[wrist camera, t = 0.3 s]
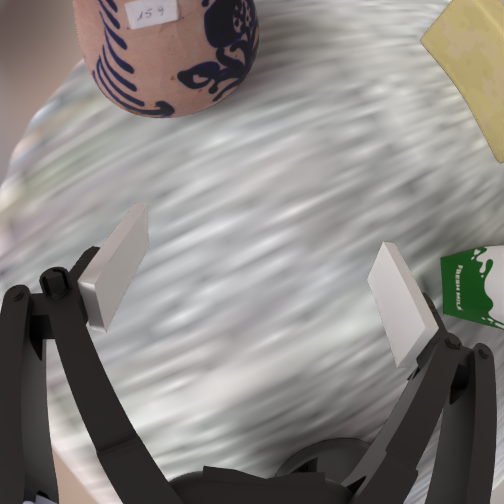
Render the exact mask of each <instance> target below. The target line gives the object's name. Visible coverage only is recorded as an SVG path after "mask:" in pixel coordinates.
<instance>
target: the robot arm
mask: <svg viewBox="0 0 504 504" xmlns="http://www.w3.org/2000/svg"><path fill="white" fill-rule="evenodd" d="M148 248H149V238H148V205H143V204H134V205H133V206H132V207H131V209H130V210H129V211H128V212H127V214H126V215H125V216H124V218H123V219H122V220H121V221H120V223H119V224H118V225H117V227H116V228H115V229H114V231H113V232H112V233H111V235H110V236H109V237H108V239H107V240H106V241H105V243H104V244H103V245H102V247H101V248H100V247H94V246H92V247H91V248H89V249H88V250H86V251H85V252H84V253H83V254H82V256H81V257H80V258H79V260H78V261H77V262H76V264H75V265H74V266H73V268H72V269H71V270H70V272H68V271H67V269H65V268H63V267H52V268H50V269H47V270H46V271H45V272H43V273H42V275H41V276H40V280H39V282H40V285H41V288H42V291H43V293H37V294H31V293H30V290H29V288H28V287H27V286H25V285H16V286H13V287H11V288H10V289H9V290H8V291H7V292H6V293H5V295H4V299H3V303H2V308H1V312H0V504H59V494H58V486H57V479H56V473H55V468H54V462H53V455H52V448H51V440H50V431H49V421H48V408H47V389H46V339H55V342H56V345H57V349H58V352H59V355H60V359H61V362H62V365H63V368H64V371H65V374H66V377H67V380H68V383H69V386H70V388H71V391H72V394H73V397H74V399H75V402H76V404H77V407H78V409H79V412H80V414H81V417H82V419H83V421H84V424H85V426H86V428H87V431H88V433H89V435H90V437H91V440H92V442H93V444H94V446H95V448H96V454H97V456H98V459H99V461H100V463H101V465H102V467H103V469H104V471H105V473H106V475H107V476H108V478H109V480H110V482H111V484H112V485H113V487H114V489H115V491H116V492H117V494H118V496H119V498H120V499H121V501H122V503H123V504H403V502H404V500H405V499H406V497H407V495H408V494H409V492H410V490H411V488H412V486H413V485H414V483H415V481H416V479H417V476H418V471H417V470H416V466H417V464H418V462H419V460H420V458H421V456H422V454H423V452H424V450H425V448H426V446H427V444H428V442H429V439H430V437H431V435H432V433H433V430H434V428H435V426H436V423H437V421H438V419H439V416H440V414H441V411H442V409H443V406H444V409H443V417H442V424H441V431H440V437H439V443H438V449H437V454H436V459H435V464H434V469H433V473H432V477H431V482H430V486H429V490H428V494H427V497H426V501H425V504H490V497H491V491H492V483H493V475H494V465H495V452H496V430H497V404H496V381H495V368H494V357H493V353H492V352H491V350H490V349H489V348H488V347H487V346H486V345H484V344H482V343H477V344H476V345H475V346H474V347H473V349H469V348H466V347H463V346H462V343H461V341H460V340H459V338H458V337H457V336H455V335H454V334H452V333H448V332H447V330H446V328H445V326H444V324H443V322H442V320H441V318H440V316H439V314H438V312H437V310H436V308H435V306H434V304H433V302H432V300H431V299H430V298H429V297H428V295H427V294H426V293H422V292H421V291H420V289H419V287H418V285H417V283H416V281H415V279H414V277H413V276H412V274H411V272H410V270H409V268H408V266H407V265H406V263H405V261H404V259H403V257H402V256H401V254H400V252H399V250H398V249H397V247H396V245H395V243H390V242H385V241H383V243H382V245H381V248H380V250H379V253H378V255H377V257H376V260H375V262H374V265H373V267H372V269H371V271H370V274H369V276H368V278H367V280H368V283H369V285H370V288H371V291H372V294H373V296H374V299H375V302H376V305H377V308H378V310H379V313H380V316H381V319H382V322H383V325H384V328H385V331H386V334H387V337H388V340H389V343H390V347H391V350H392V353H393V356H394V359H395V363H396V366H397V367H411V365H412V364H413V363H414V361H415V360H417V363H418V367H417V368H416V369H415V370H414V372H413V373H412V374H411V375H410V376H409V378H408V379H407V380H409V382H408V384H407V386H406V388H405V390H404V391H403V393H402V395H401V397H400V399H399V401H398V402H397V404H396V406H395V408H394V409H393V411H392V413H391V414H390V416H389V418H388V419H387V421H386V423H385V424H384V426H383V428H382V429H381V431H380V432H379V434H378V435H377V437H376V438H375V440H374V442H373V443H372V445H370V444H369V443H367V442H364V441H361V440H358V439H350V438H341V439H332V440H327V441H323V442H320V443H317V444H314V445H312V446H309V447H307V448H305V449H303V450H301V451H300V452H298V453H297V454H295V455H294V456H292V457H291V458H290V459H288V460H287V461H286V462H285V463H284V464H283V465H282V466H281V468H280V469H279V470H278V472H277V474H276V476H275V477H274V478H269V479H264V478H260V477H257V476H253V475H250V474H247V473H244V472H241V471H237V470H234V469H225V468H217V467H209V466H204V467H203V471H198V472H192V473H187V474H184V475H181V476H179V477H176V478H174V479H173V480H171V481H169V482H168V481H167V480H166V478H165V477H164V475H163V474H162V472H161V471H160V469H159V468H158V466H157V464H156V463H155V461H154V460H153V458H152V457H151V455H150V453H149V452H148V450H147V448H146V447H145V445H144V444H143V442H142V440H141V439H140V437H139V436H138V435H137V433H136V431H135V430H134V428H133V426H132V424H131V422H130V421H129V419H128V417H127V415H126V413H125V411H124V409H123V407H122V405H121V404H120V402H119V400H118V398H117V396H116V394H115V392H114V389H113V387H112V385H111V383H110V381H109V379H108V377H107V375H106V373H105V370H104V368H103V366H102V364H101V361H100V359H99V357H98V354H97V352H96V350H95V347H94V345H93V342H92V340H91V337H90V335H89V332H88V330H87V327H86V323H87V321H89V325H90V328H91V329H93V330H97V331H101V332H105V333H106V332H107V330H108V327H109V325H110V323H111V321H112V319H113V317H114V315H115V313H116V311H117V309H118V306H119V304H120V302H121V300H122V298H123V296H124V294H125V292H126V290H127V288H128V286H129V284H130V282H131V280H132V279H133V277H134V275H135V273H136V271H137V269H138V267H139V265H140V263H141V261H142V259H143V258H144V256H145V254H146V252H147V250H148Z"/></svg>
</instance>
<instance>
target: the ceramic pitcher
mask: <svg viewBox="0 0 504 504" xmlns="http://www.w3.org/2000/svg"><path fill="white" fill-rule="evenodd" d="M72 1H73V7H74V13H75V22H76V29H77V34H78V40H79V43H80V47H81V50H82V54H83V58H84V60H85V63H86V65H87V67H88V70H89V72H90V74H91V75H92V77H93V79H94V81H95V83H96V84H97V86H98V87H99V89H100V90H101V91H102V93H103V94H104V95H105V96H106V97H107V98H108V99H109V100H110V101H112V102H113V103H114V104H116V105H117V106H119V107H120V108H122V109H124V110H126V111H128V112H131V113H133V114H136V115H140V116H144V117H151V118H171V117H179V116H184V115H188V114H192V113H195V112H198V111H201V110H204V109H206V108H208V107H210V106H212V105H214V104H216V103H218V102H220V101H221V100H222V99H224V98H225V97H226V96H228V95H229V94H230V93H231V92H232V91H234V90H235V89H236V88H237V87H238V85H239V84H240V83H242V81H243V80H244V78H245V77H246V75H247V73H248V72H249V70H250V68H251V66H252V64H253V62H254V60H255V56H256V52H257V49H258V41H259V24H258V17H257V12H256V8H255V4H254V1H253V0H72Z"/></svg>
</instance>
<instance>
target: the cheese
mask: <svg viewBox="0 0 504 504" xmlns="http://www.w3.org/2000/svg"><path fill="white" fill-rule="evenodd" d="M420 41H421V43H422V44H423V45H424V47H425V48H426V49H427V50H428V51H429V52H430V53H431V55H432V56H433V57H434V58H435V59H436V61H437V62H438V63H439V64H440V65H441V67H442V68H443V69H444V70H445V72H446V73H447V74H448V76H449V77H450V78H451V80H452V81H453V82H454V84H455V85H456V87H457V88H458V89H459V91H460V92H461V94H462V96H463V97H464V99H465V100H466V102H467V104H468V106H469V107H470V109H471V111H472V113H473V115H474V117H475V119H476V121H477V123H478V124H479V126H480V128H481V130H482V132H483V134H484V136H485V138H486V140H487V141H488V143H489V145H490V147H491V149H492V151H493V153H494V155H495V157H496V159H497V160H498V162H500V163H503V162H504V5H503V4H502V2H501V1H500V0H452V1H451V2H450V3H449V5H448V6H447V7H446V8H445V9H444V11H443V12H442V13H441V14H440V16H439V17H438V18H437V19H436V21H435V22H434V23H433V24H432V25H431V27H430V28H429V29H428V30H427V31H426V33H425V34H424V35H423V36H422V38H421V40H420Z"/></svg>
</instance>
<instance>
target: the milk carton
mask: <svg viewBox="0 0 504 504" xmlns="http://www.w3.org/2000/svg"><path fill="white" fill-rule="evenodd" d="M441 270H442V287H443V314H447V315H451V316H455V317H459V318H462V319H466V320H470V321H473V322H477V323H481V324H484V325H488V326H492V327H496V328H500V329H503V330H504V245H495V246H487V247H480V248H476V249H472V250H468V251H465V252H462V253H458V254H455V255H451V256H448V257H444V258H441Z"/></svg>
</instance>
